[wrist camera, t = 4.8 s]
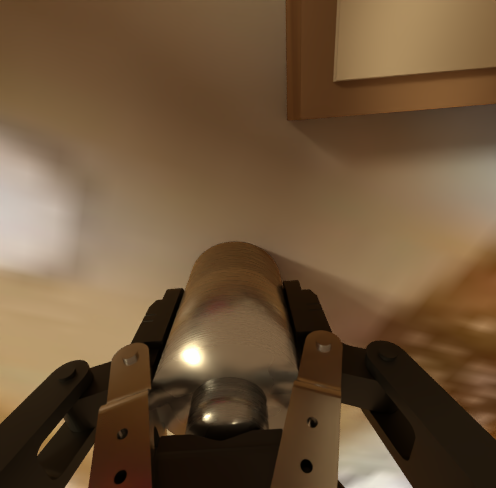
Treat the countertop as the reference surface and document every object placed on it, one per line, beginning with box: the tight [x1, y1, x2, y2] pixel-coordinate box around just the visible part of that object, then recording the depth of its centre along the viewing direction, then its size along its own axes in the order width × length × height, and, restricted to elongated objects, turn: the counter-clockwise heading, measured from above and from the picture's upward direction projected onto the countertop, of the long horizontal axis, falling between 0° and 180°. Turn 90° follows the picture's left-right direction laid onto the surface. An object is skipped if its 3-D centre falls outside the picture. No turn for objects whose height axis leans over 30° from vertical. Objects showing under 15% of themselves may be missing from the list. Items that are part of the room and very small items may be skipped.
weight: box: [152, 242, 301, 441], centre depth 11 cm, size 5×5×8 cm
